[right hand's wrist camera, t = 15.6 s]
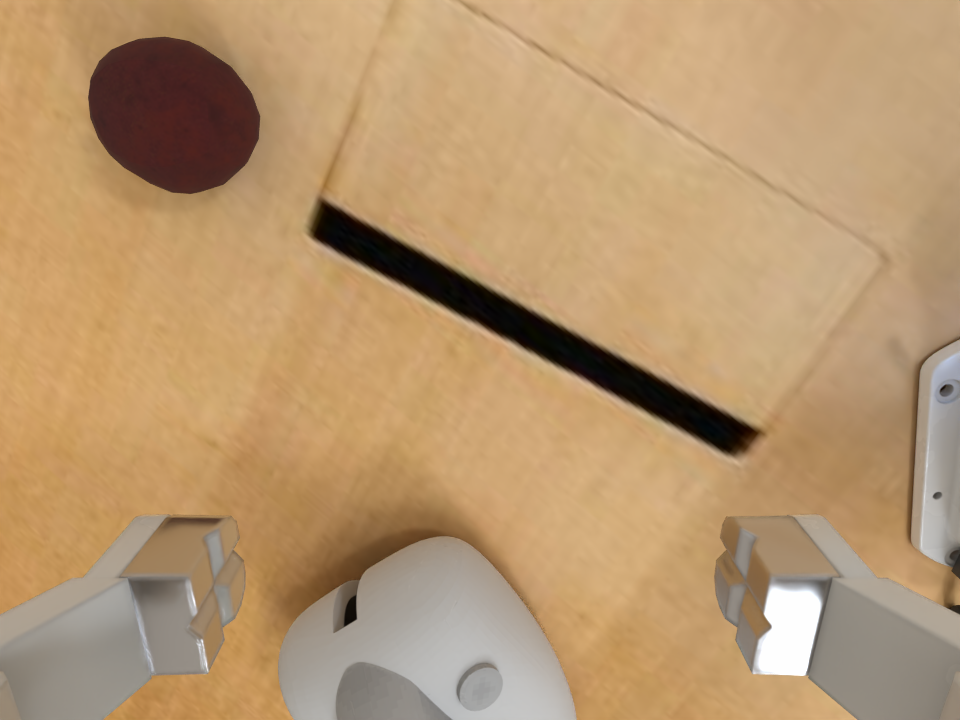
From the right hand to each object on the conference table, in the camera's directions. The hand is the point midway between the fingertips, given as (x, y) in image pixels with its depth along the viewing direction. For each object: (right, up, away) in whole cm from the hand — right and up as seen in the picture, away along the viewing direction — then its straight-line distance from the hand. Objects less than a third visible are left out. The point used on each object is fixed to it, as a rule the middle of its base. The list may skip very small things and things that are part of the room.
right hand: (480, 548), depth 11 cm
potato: (-15, +17, +25) cm, 34 cm away
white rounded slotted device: (-2, -19, +38) cm, 43 cm away
